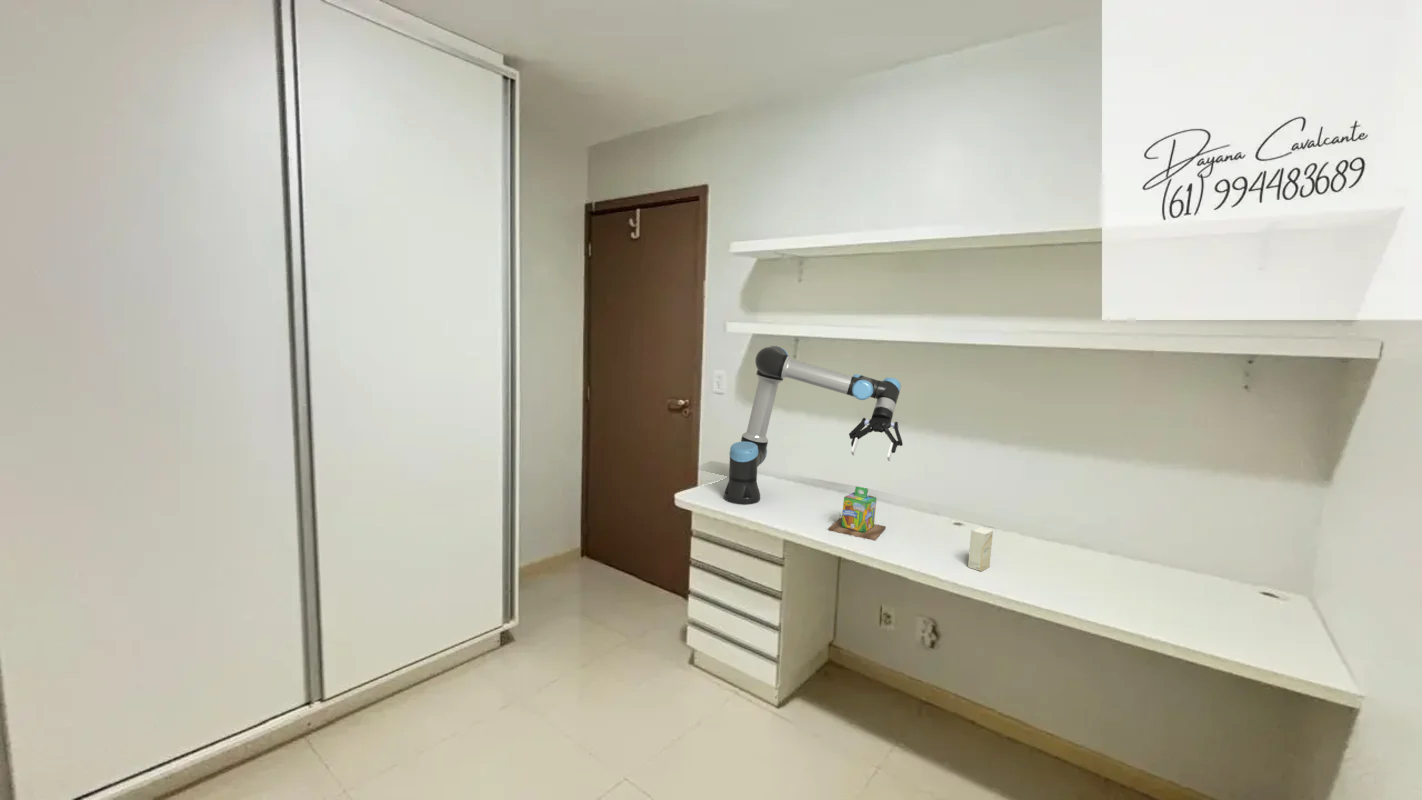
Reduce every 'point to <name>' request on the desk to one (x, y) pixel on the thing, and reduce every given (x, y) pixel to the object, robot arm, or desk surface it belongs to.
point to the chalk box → (859, 511)
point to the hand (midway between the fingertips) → (870, 456)
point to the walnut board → (869, 534)
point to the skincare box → (980, 548)
